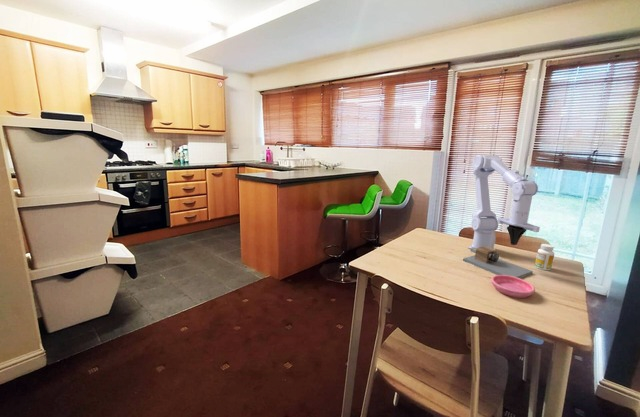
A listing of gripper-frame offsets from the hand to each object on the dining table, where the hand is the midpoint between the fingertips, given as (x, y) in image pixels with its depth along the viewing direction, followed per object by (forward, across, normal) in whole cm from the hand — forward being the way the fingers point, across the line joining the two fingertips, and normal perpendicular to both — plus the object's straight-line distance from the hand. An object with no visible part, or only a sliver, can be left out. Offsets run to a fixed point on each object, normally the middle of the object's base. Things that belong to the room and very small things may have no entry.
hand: (513, 244), depth 116 cm
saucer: (+10, +12, -21) cm, 26 cm away
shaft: (+8, -8, -6) cm, 12 cm away
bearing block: (+9, -7, -6) cm, 13 cm away
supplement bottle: (+10, +7, +11) cm, 16 cm away
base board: (+9, -2, -6) cm, 11 cm away
